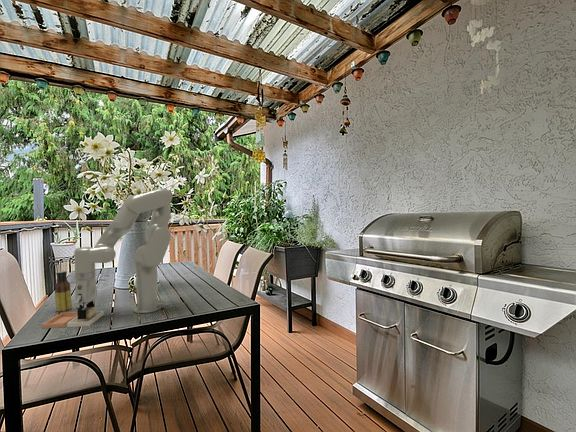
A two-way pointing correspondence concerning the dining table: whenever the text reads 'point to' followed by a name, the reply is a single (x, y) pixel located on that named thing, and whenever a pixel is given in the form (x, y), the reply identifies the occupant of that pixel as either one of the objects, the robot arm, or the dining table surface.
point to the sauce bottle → (62, 293)
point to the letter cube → (88, 314)
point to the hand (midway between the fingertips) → (86, 315)
